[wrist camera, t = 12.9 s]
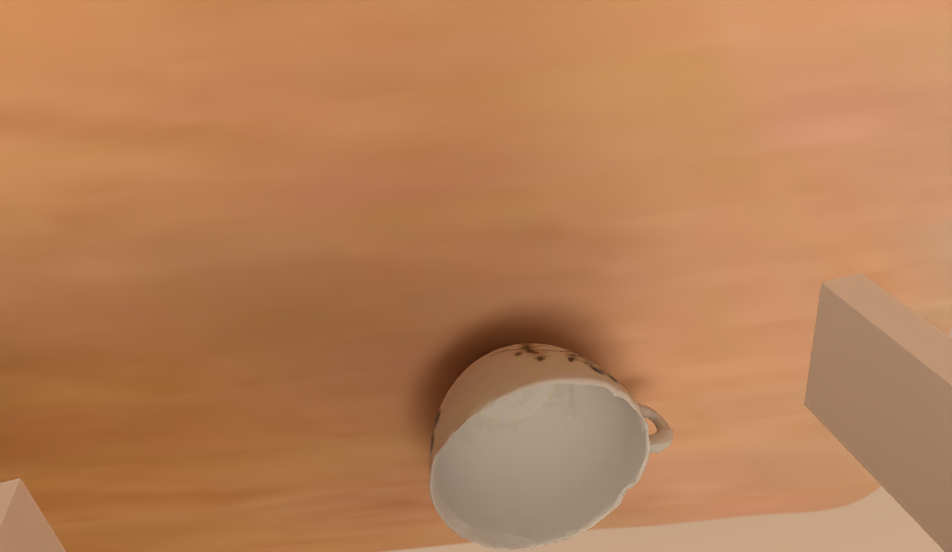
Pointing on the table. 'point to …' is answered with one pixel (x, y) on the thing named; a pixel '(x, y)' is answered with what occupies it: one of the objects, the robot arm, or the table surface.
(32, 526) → the robot arm
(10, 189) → the table surface
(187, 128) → the table surface
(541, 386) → the teacup
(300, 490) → the table surface
